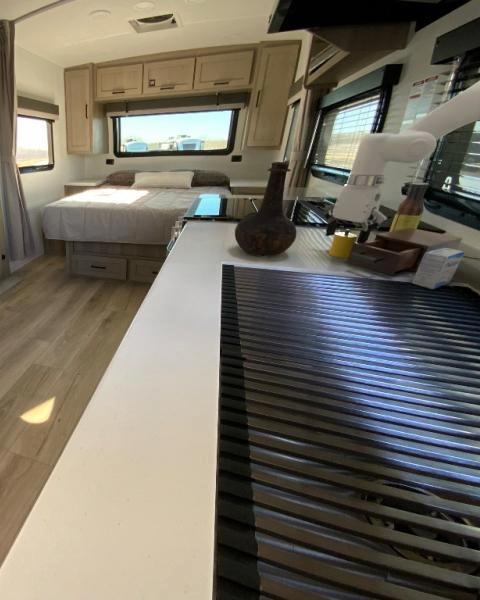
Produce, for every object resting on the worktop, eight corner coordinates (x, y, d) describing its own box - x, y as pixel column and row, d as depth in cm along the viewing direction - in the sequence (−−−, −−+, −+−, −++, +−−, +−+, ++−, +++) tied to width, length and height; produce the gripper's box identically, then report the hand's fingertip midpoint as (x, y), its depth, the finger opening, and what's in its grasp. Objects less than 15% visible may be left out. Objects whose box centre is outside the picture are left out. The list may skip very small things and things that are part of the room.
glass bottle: (260, 241, 120) (278, 158, 108) (304, 256, 105) (331, 162, 93) (220, 248, 116) (233, 162, 103) (259, 265, 101) (281, 166, 88)
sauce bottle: (414, 248, 108) (442, 184, 99) (394, 248, 109) (420, 185, 100) (397, 242, 114) (422, 181, 105) (379, 242, 114) (402, 182, 105)
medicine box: (432, 290, 82) (449, 257, 78) (410, 283, 85) (425, 251, 81) (449, 283, 84) (466, 251, 80) (427, 277, 88) (442, 246, 84)
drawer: (380, 278, 87) (389, 257, 84) (336, 264, 97) (343, 245, 94) (424, 266, 93) (433, 246, 90) (378, 254, 102) (386, 236, 100)
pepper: (354, 256, 104) (363, 230, 100) (342, 258, 102) (350, 233, 99) (337, 251, 109) (345, 226, 105) (324, 253, 107) (332, 228, 103)
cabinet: (416, 272, 91) (428, 246, 88) (367, 258, 102) (376, 234, 98) (449, 263, 96) (462, 237, 93) (399, 250, 107) (409, 227, 103)
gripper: (408, 183, 89) (383, 244, 97) (342, 176, 104) (325, 230, 111) (390, 185, 87) (366, 248, 95) (325, 179, 101) (309, 234, 109)
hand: (344, 238), depth 103 cm, fingers open, 9 cm apart
